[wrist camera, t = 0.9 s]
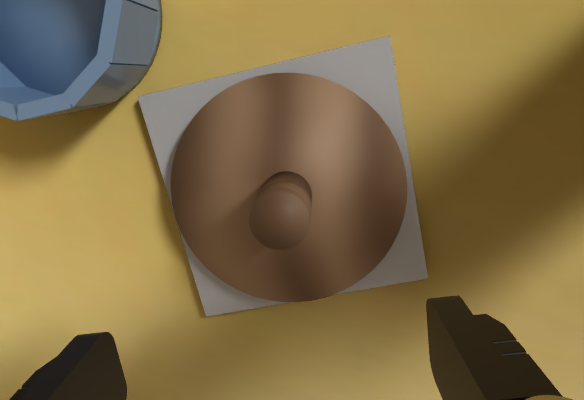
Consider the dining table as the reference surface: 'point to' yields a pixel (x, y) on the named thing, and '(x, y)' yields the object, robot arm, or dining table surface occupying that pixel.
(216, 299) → the mat
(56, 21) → the bowl
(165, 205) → the dining table surface
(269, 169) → the lid
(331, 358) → the dining table surface
